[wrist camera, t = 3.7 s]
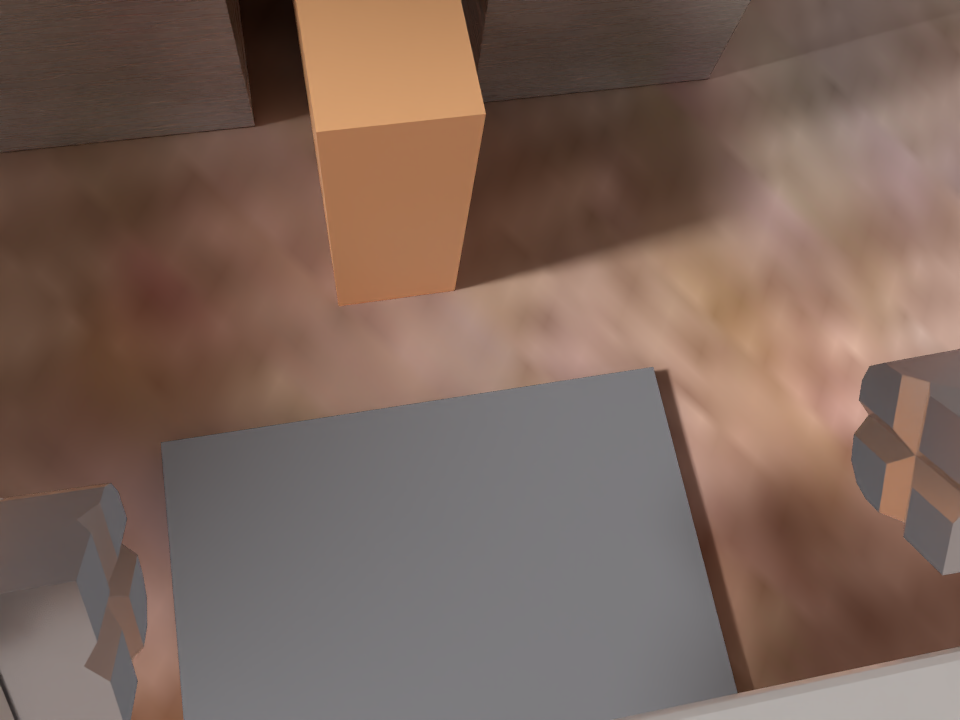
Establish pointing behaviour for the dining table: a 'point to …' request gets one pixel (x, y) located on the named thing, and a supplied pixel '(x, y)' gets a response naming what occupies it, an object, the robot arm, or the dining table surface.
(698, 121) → the dining table surface
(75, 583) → the robot arm
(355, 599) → the mat
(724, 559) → the dining table surface
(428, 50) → the plug
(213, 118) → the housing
